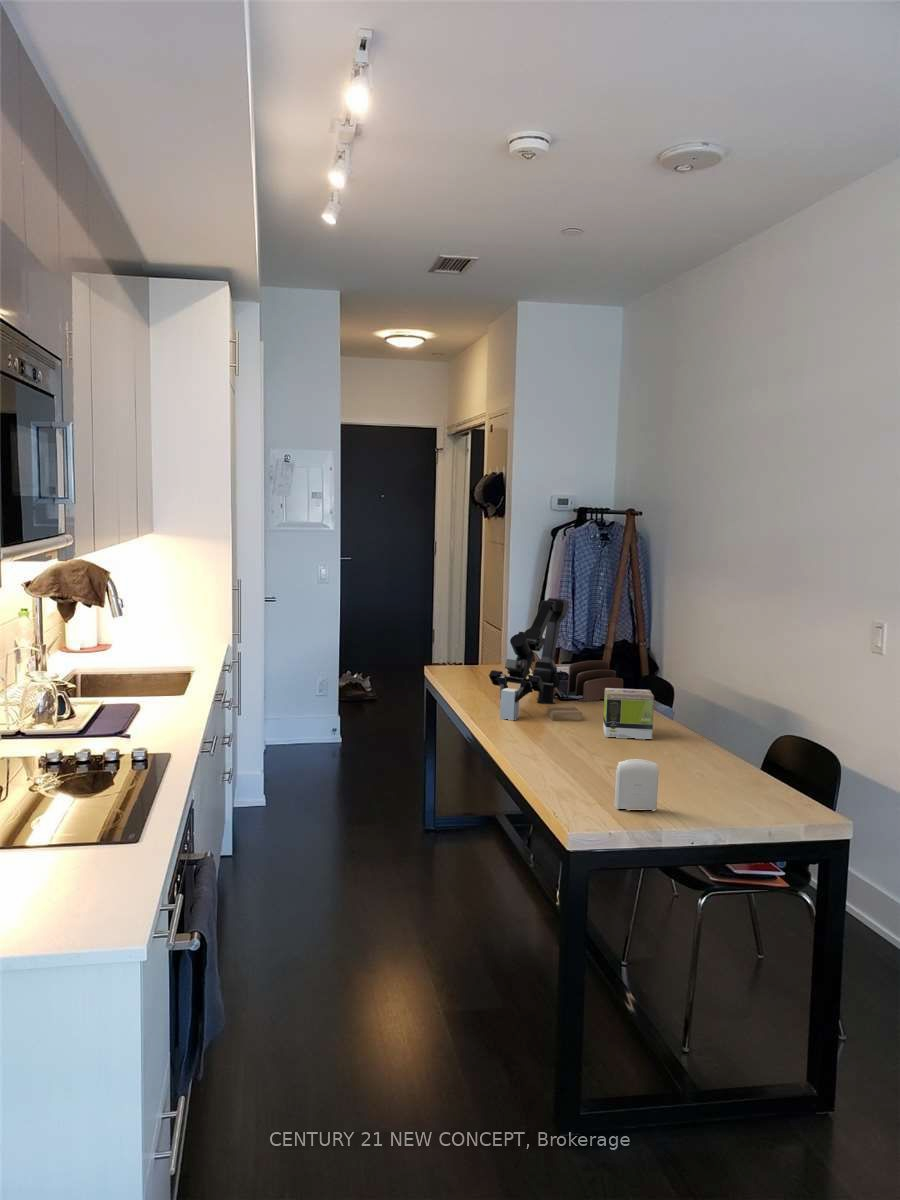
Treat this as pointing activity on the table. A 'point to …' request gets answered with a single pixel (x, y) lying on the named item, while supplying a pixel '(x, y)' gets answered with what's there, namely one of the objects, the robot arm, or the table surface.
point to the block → (563, 713)
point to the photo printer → (636, 784)
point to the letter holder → (592, 679)
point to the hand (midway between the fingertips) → (508, 700)
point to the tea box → (628, 713)
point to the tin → (509, 704)
